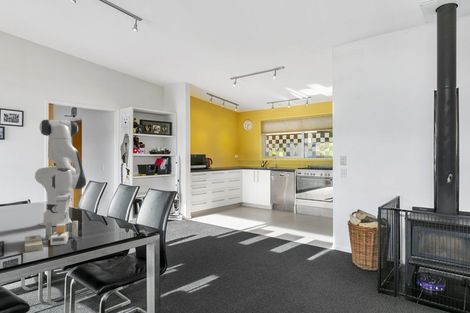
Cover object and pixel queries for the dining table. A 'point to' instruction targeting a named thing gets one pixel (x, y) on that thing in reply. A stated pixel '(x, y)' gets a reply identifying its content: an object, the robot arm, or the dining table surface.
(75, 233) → the post
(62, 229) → the breaker toggle
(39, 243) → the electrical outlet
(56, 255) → the dining table surface
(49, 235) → the post
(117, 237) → the dining table surface
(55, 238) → the breaker block
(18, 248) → the dining table surface
